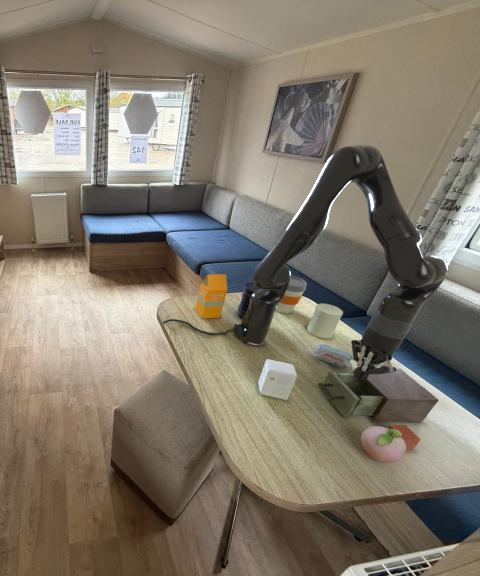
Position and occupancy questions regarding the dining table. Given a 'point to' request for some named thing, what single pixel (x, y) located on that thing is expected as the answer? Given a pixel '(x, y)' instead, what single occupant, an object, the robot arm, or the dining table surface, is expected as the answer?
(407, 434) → the block
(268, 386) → the small box
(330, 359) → the packaged food
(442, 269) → the robot arm
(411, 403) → the cabinet
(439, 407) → the dining table surface
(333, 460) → the dining table surface
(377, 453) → the decorative fruit
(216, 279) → the orange juice
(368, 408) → the drawer
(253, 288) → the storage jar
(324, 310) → the can
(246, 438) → the dining table surface
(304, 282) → the reusable coffee cup
